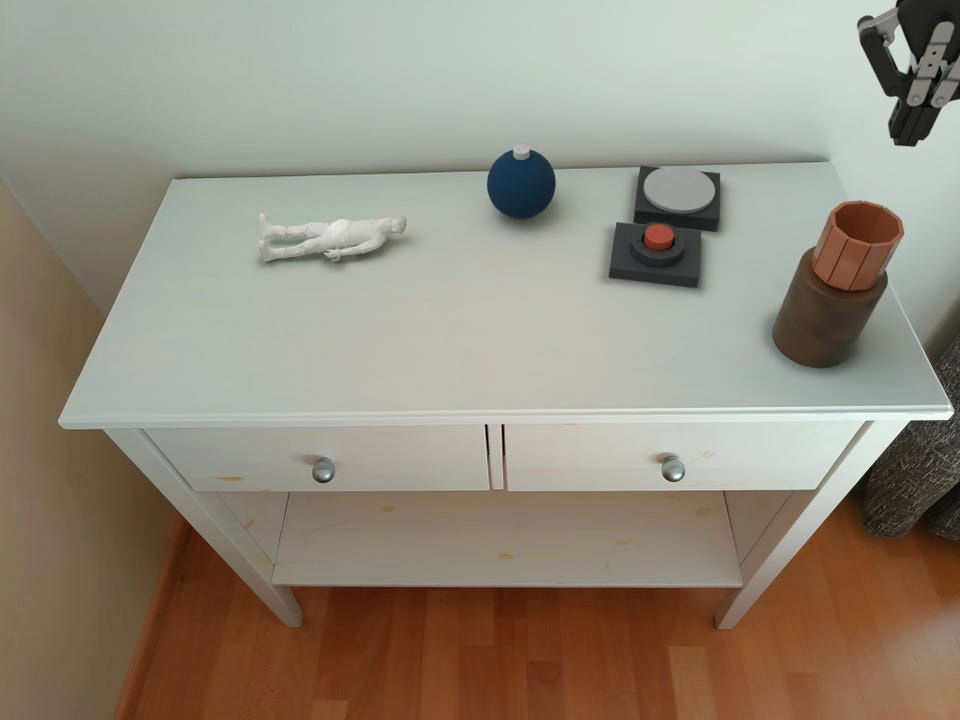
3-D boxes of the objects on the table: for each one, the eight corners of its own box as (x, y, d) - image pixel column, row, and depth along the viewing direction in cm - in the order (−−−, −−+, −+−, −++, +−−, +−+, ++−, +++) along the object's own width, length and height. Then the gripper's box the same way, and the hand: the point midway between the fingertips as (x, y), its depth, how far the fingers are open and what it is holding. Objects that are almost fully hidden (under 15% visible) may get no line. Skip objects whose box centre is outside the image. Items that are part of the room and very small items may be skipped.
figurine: (259, 212, 89) (405, 189, 89) (270, 235, 93) (411, 213, 92) (255, 254, 85) (408, 231, 85) (267, 277, 89) (414, 255, 88)
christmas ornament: (531, 182, 96) (532, 114, 89) (567, 217, 92) (572, 149, 84) (476, 204, 94) (472, 137, 86) (510, 242, 89) (509, 174, 82)
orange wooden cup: (873, 252, 72) (898, 203, 67) (881, 298, 68) (908, 250, 63) (808, 245, 73) (828, 196, 68) (812, 290, 69) (833, 242, 64)
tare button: (672, 234, 85) (674, 225, 84) (671, 253, 83) (673, 244, 82) (644, 231, 86) (646, 222, 85) (642, 250, 84) (644, 241, 83)
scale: (716, 185, 95) (721, 168, 92) (716, 231, 89) (720, 215, 87) (638, 178, 96) (641, 161, 94) (632, 222, 91) (635, 206, 89)
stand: (847, 315, 80) (882, 247, 72) (854, 373, 75) (893, 306, 67) (770, 306, 81) (797, 238, 73) (773, 362, 76) (802, 295, 68)
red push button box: (698, 241, 88) (703, 221, 86) (696, 288, 83) (702, 269, 81) (615, 231, 90) (617, 212, 87) (608, 277, 85) (611, 258, 83)
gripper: (904, -76, 45) (819, 162, 58) (1151, -70, 42) (1003, 176, 56) (889, -122, 49) (813, 109, 63) (1112, -119, 47) (983, 120, 60)
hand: (903, 140), depth 59 cm, fingers closed
